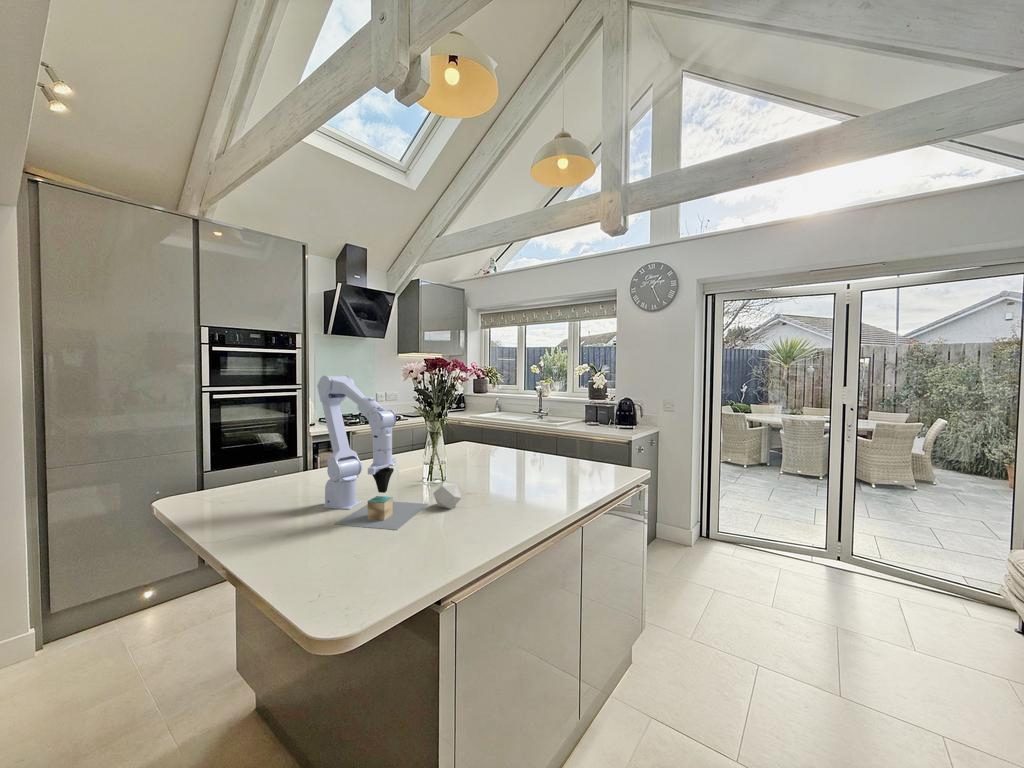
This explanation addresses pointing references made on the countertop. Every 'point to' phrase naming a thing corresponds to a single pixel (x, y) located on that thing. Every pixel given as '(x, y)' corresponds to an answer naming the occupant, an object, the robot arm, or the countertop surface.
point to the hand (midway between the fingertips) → (382, 492)
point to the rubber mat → (394, 522)
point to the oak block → (380, 508)
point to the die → (447, 495)
